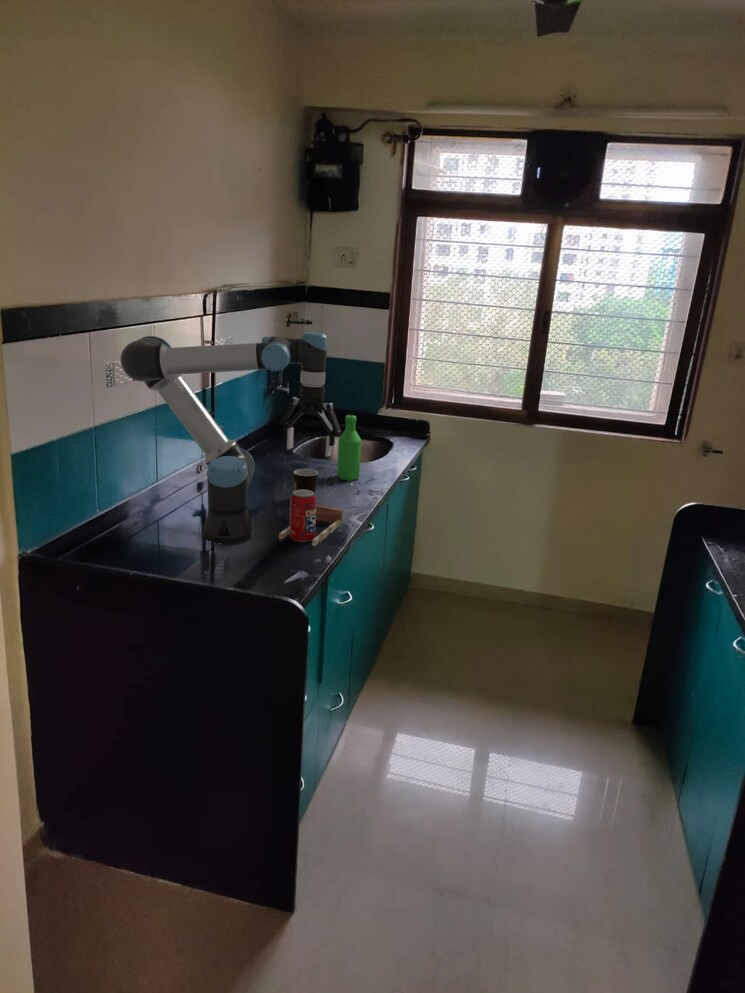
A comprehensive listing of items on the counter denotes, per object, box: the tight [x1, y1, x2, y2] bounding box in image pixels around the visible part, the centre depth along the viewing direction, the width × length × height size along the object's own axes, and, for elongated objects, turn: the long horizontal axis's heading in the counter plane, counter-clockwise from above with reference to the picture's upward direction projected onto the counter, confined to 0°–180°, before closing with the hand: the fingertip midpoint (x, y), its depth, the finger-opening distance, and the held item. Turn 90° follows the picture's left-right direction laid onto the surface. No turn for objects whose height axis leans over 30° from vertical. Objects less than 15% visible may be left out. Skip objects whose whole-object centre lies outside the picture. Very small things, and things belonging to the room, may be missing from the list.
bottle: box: [336, 414, 362, 482], centre depth 274 cm, size 9×9×25 cm
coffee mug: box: [293, 468, 319, 496], centre depth 251 cm, size 12×9×10 cm
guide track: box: [278, 504, 344, 547], centre depth 221 cm, size 22×12×5 cm, turn 160°
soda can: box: [289, 490, 317, 543], centre depth 213 cm, size 8×8×15 cm
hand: (308, 452), depth 222 cm, fingers open, 13 cm apart
